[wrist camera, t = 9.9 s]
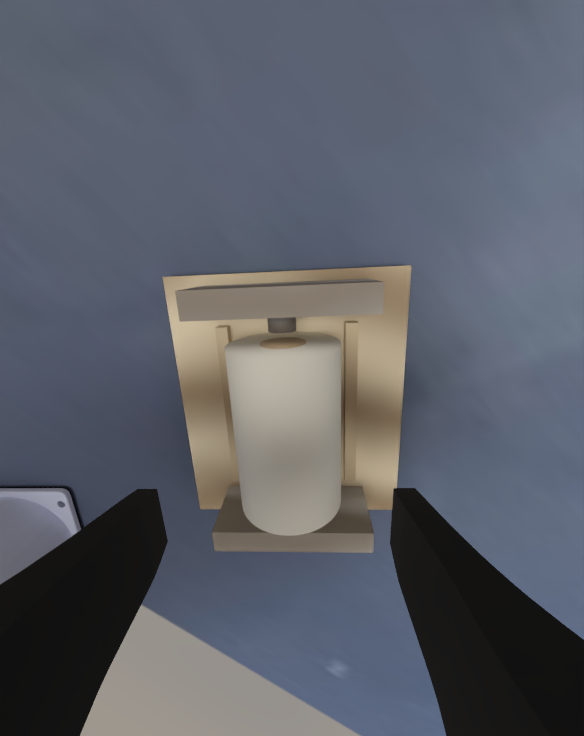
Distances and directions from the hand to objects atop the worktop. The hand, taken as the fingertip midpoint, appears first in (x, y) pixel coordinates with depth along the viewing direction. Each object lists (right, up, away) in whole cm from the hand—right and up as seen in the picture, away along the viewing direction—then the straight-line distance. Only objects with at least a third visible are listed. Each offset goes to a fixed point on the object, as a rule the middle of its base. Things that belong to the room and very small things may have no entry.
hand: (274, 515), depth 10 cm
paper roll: (0, +3, +8) cm, 8 cm away
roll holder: (+1, +3, +9) cm, 9 cm away
